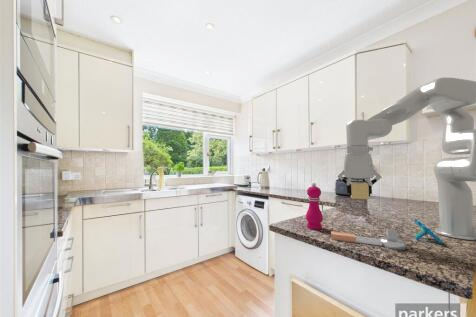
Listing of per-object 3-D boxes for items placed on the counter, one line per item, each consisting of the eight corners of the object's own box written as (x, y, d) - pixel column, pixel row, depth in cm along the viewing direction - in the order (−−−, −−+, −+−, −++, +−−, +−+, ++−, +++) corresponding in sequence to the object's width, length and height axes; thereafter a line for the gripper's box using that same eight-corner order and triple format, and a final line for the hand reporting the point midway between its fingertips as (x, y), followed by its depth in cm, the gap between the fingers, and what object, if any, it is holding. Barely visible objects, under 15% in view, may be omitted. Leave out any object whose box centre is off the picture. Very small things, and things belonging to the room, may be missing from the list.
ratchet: (401, 244, 71) (400, 228, 71) (408, 251, 64) (407, 234, 65) (331, 235, 80) (331, 221, 80) (331, 240, 74) (331, 225, 74)
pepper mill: (311, 224, 95) (310, 182, 96) (326, 228, 89) (325, 183, 91) (302, 227, 90) (302, 182, 91) (317, 231, 85) (317, 183, 86)
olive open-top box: (366, 197, 82) (366, 182, 82) (369, 199, 77) (368, 183, 77) (350, 196, 85) (350, 182, 85) (351, 198, 79) (351, 183, 80)
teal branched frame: (448, 243, 68) (419, 218, 73) (432, 253, 69) (404, 228, 75) (440, 239, 76) (414, 217, 82) (426, 248, 78) (402, 226, 83)
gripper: (381, 150, 81) (383, 195, 80) (334, 152, 89) (335, 193, 88) (385, 148, 75) (387, 197, 74) (334, 151, 82) (335, 195, 81)
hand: (359, 194), depth 81 cm, fingers closed on olive open-top box, 5 cm apart
